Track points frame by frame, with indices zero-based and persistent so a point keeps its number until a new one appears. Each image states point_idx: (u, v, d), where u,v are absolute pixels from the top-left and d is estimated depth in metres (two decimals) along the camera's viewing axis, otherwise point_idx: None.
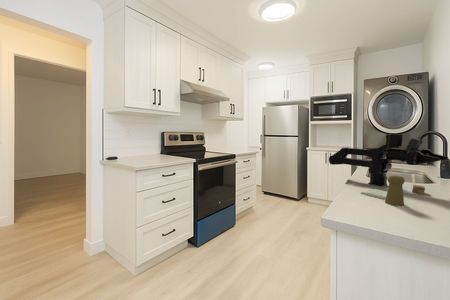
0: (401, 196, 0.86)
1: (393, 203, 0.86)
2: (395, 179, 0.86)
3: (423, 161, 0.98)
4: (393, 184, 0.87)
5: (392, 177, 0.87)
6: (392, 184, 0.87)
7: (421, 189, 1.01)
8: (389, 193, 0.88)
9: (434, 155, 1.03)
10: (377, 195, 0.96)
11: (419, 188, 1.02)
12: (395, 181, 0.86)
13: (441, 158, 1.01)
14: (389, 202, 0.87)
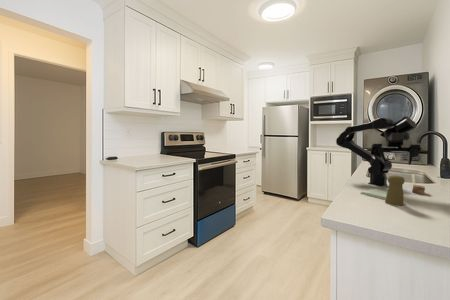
0: (401, 196, 0.86)
1: (393, 203, 0.86)
2: (395, 179, 0.86)
3: (379, 156, 1.09)
4: (393, 184, 0.87)
5: (392, 177, 0.87)
6: (392, 184, 0.87)
7: (421, 189, 1.01)
8: (389, 193, 0.88)
9: (409, 155, 1.03)
10: (377, 195, 0.96)
11: (419, 188, 1.02)
12: (395, 181, 0.86)
13: (408, 161, 1.02)
14: (389, 202, 0.87)
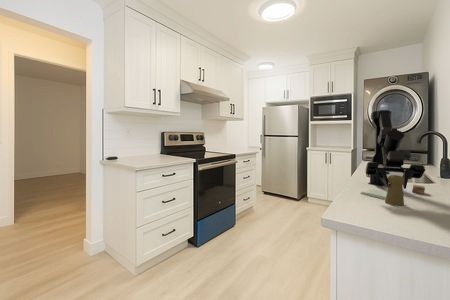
0: (401, 196, 0.86)
1: (393, 203, 0.86)
2: (395, 179, 0.86)
3: (381, 178, 0.92)
4: (393, 184, 0.87)
5: (392, 177, 0.87)
6: (392, 184, 0.87)
7: (421, 189, 1.01)
8: (389, 193, 0.88)
9: (404, 177, 0.88)
10: (377, 195, 0.96)
11: (419, 188, 1.02)
12: (395, 181, 0.86)
13: (403, 184, 0.87)
14: (389, 202, 0.87)
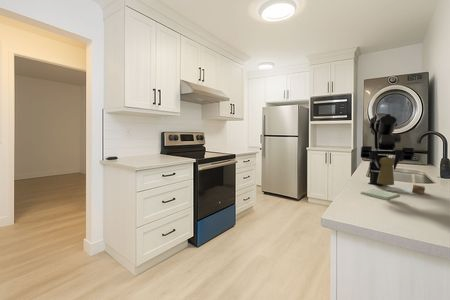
0: (391, 176, 0.93)
1: (383, 182, 0.94)
2: (385, 160, 0.93)
3: (374, 160, 1.00)
4: (384, 165, 0.94)
5: (383, 159, 0.94)
6: (383, 165, 0.94)
7: (421, 189, 1.01)
8: (380, 174, 0.95)
9: (394, 159, 0.95)
10: (377, 195, 0.96)
11: (419, 188, 1.02)
12: (385, 162, 0.93)
13: None
14: (380, 182, 0.95)
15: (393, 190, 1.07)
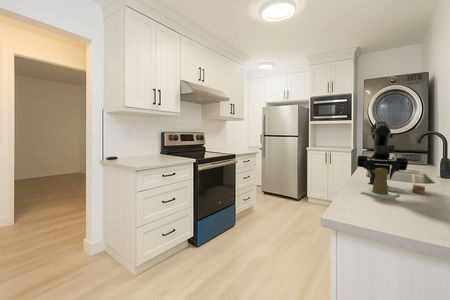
0: (385, 186, 0.97)
1: (377, 192, 0.98)
2: (379, 171, 0.98)
3: (368, 169, 1.04)
4: (378, 175, 0.99)
5: (377, 169, 0.99)
6: (377, 175, 0.99)
7: (421, 189, 1.01)
8: (374, 183, 1.00)
9: (391, 169, 0.99)
10: (377, 195, 0.96)
11: (419, 188, 1.02)
12: (379, 172, 0.98)
13: None
14: (374, 191, 1.00)
15: (393, 190, 1.07)
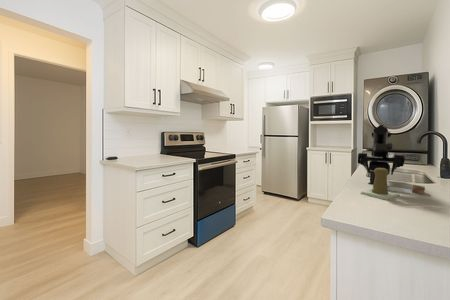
0: (385, 186, 0.97)
1: (377, 192, 0.98)
2: (379, 171, 0.98)
3: (364, 166, 1.13)
4: (378, 175, 0.99)
5: (377, 169, 0.99)
6: (377, 175, 0.99)
7: (421, 189, 1.01)
8: (374, 183, 1.00)
9: (392, 165, 1.06)
10: (377, 195, 0.96)
11: (419, 188, 1.02)
12: (379, 172, 0.98)
13: (391, 171, 1.05)
14: (374, 191, 1.00)
15: (393, 190, 1.07)
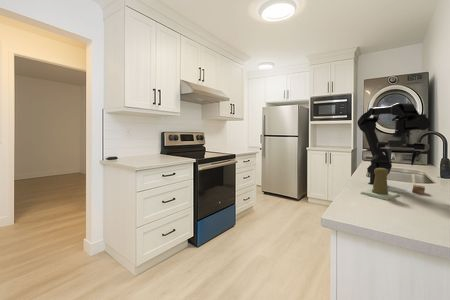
0: (385, 186, 0.97)
1: (377, 192, 0.98)
2: (379, 171, 0.98)
3: None
4: (378, 175, 0.99)
5: (377, 169, 0.99)
6: (377, 175, 0.99)
7: (421, 189, 1.01)
8: (374, 183, 1.00)
9: None
10: (377, 195, 0.96)
11: (419, 188, 1.02)
12: (379, 172, 0.98)
13: None
14: (374, 191, 1.00)
15: (393, 190, 1.07)
